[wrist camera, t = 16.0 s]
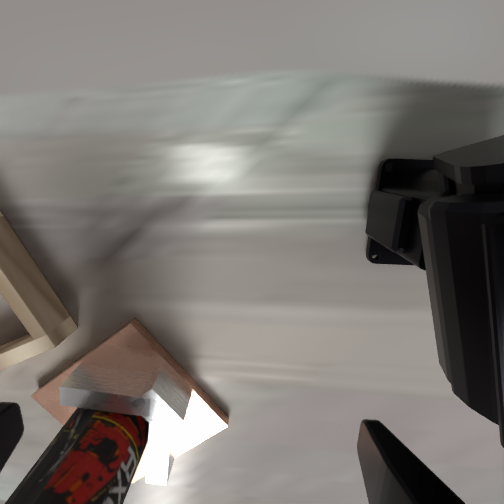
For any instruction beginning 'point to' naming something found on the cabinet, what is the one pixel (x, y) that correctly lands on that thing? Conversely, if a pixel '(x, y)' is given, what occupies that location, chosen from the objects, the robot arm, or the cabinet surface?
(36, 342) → the beige square frame
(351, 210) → the cabinet surface
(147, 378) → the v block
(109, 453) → the deodorant
